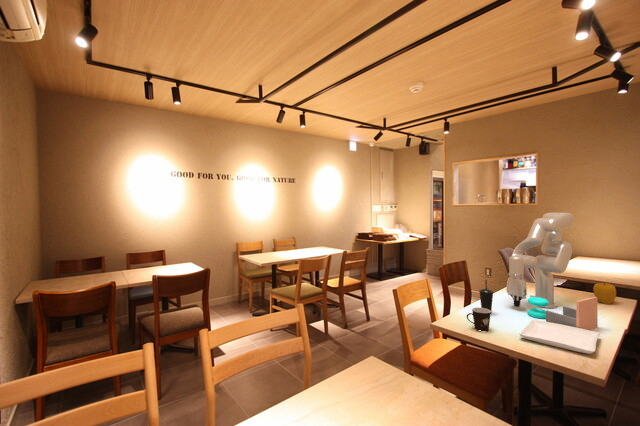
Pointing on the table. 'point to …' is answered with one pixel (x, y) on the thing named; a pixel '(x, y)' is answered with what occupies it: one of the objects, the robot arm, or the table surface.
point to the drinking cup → (486, 297)
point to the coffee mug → (481, 318)
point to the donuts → (541, 303)
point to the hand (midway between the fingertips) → (516, 306)
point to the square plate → (561, 336)
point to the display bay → (577, 315)
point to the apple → (604, 292)
